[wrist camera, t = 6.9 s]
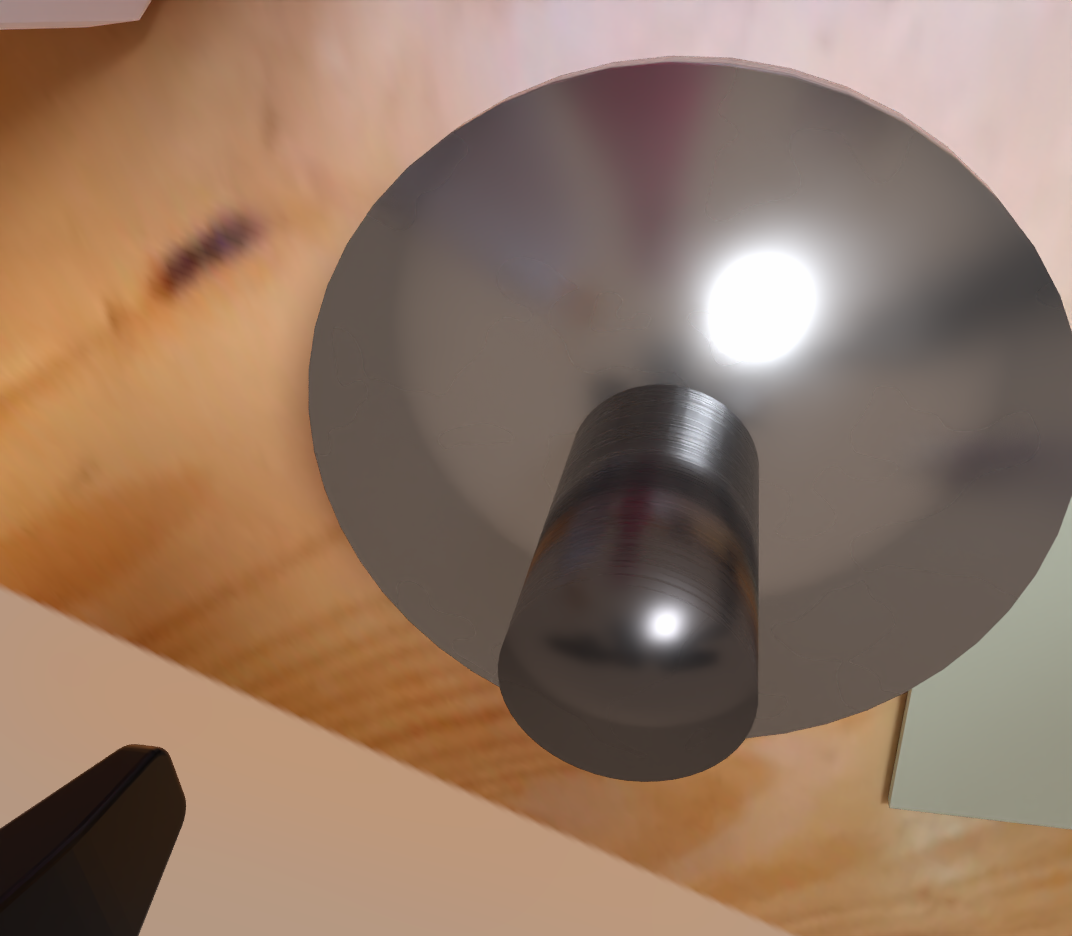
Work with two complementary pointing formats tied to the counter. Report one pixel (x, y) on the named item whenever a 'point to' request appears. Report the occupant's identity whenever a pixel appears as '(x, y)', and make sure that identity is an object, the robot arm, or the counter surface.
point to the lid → (693, 406)
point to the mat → (999, 715)
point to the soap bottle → (68, 13)
